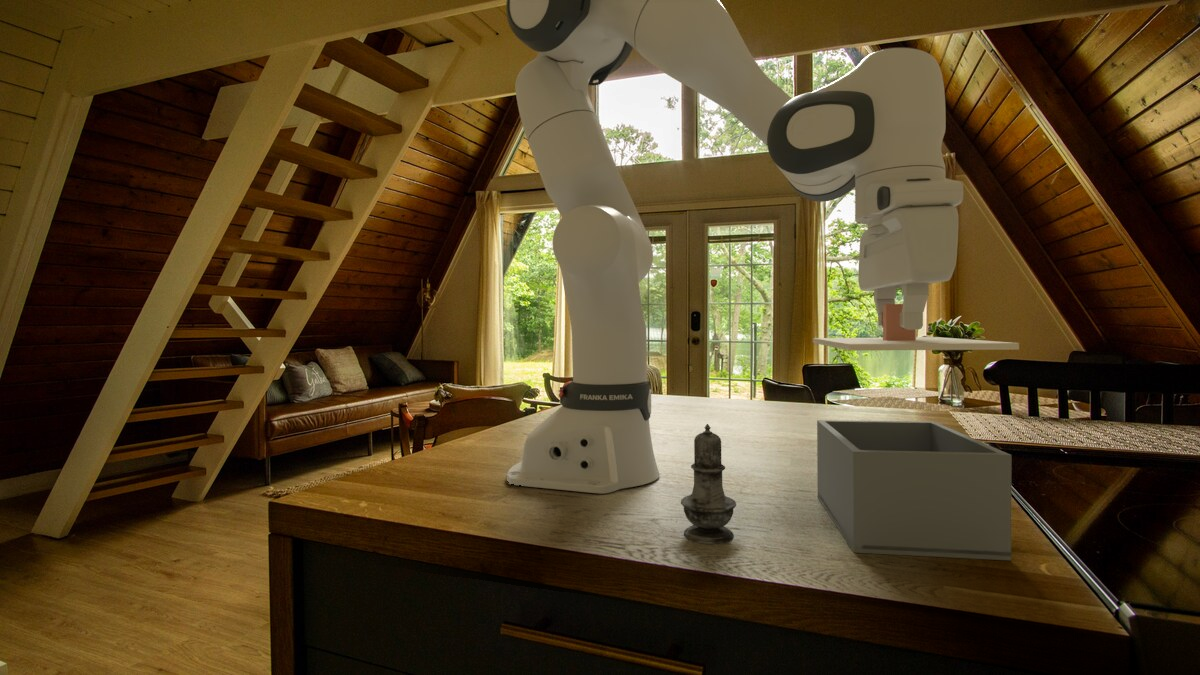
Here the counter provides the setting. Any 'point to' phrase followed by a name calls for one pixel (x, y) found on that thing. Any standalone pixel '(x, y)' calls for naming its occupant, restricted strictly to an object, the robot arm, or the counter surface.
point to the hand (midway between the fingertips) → (898, 329)
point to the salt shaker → (708, 494)
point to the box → (914, 489)
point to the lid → (909, 338)
